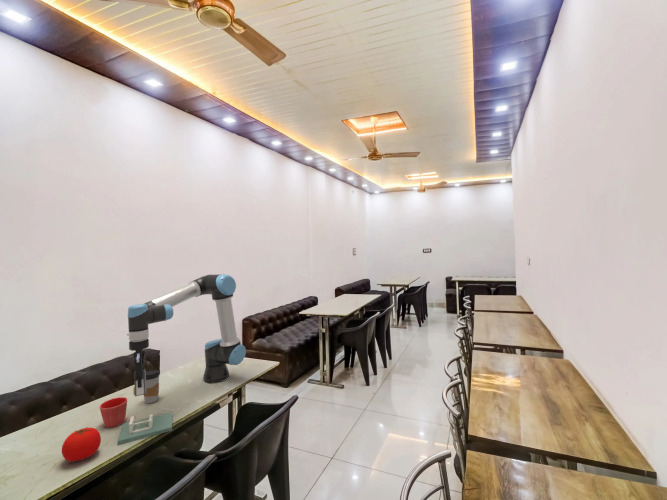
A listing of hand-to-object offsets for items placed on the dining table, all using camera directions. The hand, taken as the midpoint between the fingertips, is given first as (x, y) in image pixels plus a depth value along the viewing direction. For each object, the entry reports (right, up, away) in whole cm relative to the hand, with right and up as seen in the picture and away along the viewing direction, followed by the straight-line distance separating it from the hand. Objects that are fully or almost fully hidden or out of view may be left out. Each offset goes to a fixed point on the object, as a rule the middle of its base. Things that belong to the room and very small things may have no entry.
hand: (140, 392), depth 142 cm
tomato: (-12, -17, -18) cm, 28 cm away
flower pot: (-16, -17, +6) cm, 24 cm away
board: (+3, -16, 0) cm, 17 cm away
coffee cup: (-11, -17, +28) cm, 34 cm away
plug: (0, -1, 0) cm, 1 cm away
